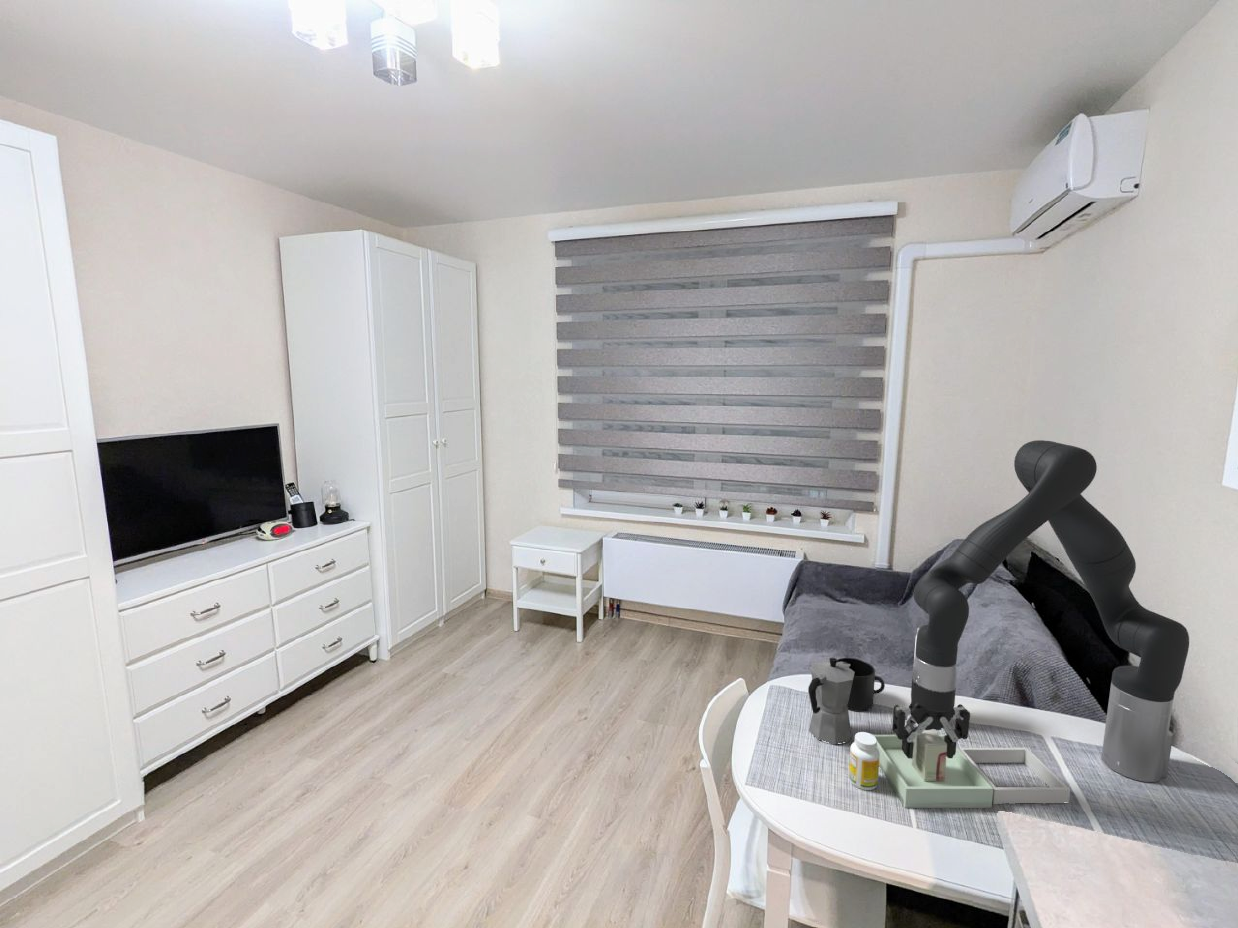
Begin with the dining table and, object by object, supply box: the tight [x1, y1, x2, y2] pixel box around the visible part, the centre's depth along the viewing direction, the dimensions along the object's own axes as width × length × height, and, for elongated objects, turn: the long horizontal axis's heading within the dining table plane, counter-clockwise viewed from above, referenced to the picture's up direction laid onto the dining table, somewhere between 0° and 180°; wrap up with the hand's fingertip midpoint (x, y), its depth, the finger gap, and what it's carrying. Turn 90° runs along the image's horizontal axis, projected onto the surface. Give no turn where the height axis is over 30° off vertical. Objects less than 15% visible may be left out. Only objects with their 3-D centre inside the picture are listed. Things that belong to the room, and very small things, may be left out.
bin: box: [872, 733, 993, 809], centre depth 114 cm, size 16×16×4 cm
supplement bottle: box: [848, 731, 880, 791], centre depth 113 cm, size 5×5×10 cm
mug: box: [836, 657, 886, 712], centre depth 140 cm, size 9×12×9 cm
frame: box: [957, 747, 1071, 805], centre depth 113 cm, size 14×12×3 cm
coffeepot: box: [807, 657, 855, 745], centre depth 127 cm, size 15×9×18 cm, turn 129°
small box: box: [911, 729, 947, 781], centre depth 114 cm, size 5×4×8 cm
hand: (927, 755), depth 114 cm, fingers open, 7 cm apart
